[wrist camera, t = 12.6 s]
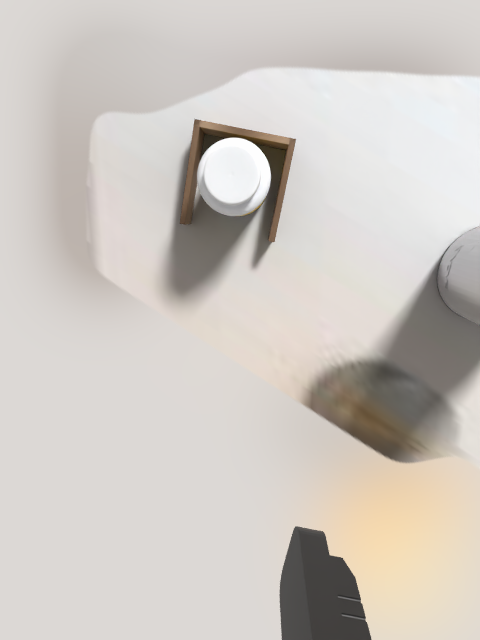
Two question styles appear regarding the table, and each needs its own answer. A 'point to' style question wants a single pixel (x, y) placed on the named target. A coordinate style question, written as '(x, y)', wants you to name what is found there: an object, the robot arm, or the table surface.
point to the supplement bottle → (234, 177)
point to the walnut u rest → (233, 132)
